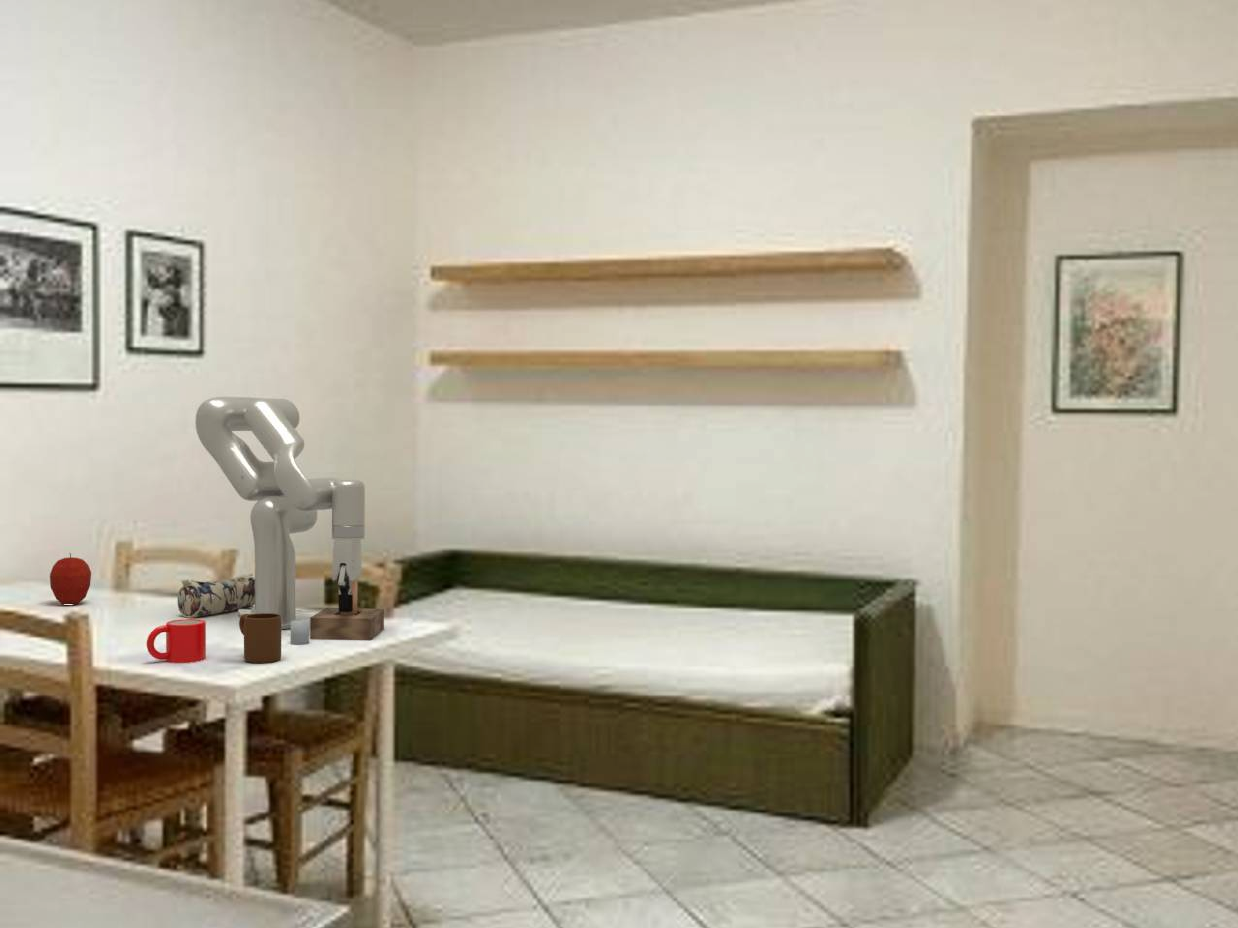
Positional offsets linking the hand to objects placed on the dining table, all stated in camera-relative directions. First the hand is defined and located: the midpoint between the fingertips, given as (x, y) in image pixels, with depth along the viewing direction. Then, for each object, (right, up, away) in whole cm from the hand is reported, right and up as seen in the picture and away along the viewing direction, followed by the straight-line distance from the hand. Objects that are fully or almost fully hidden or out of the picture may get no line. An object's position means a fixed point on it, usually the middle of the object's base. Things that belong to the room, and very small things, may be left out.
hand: (348, 609), depth 290 cm
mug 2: (-13, -7, -29) cm, 33 cm away
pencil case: (-40, -5, +29) cm, 49 cm away
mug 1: (-29, -7, -32) cm, 44 cm away
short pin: (-8, -6, -12) cm, 16 cm away
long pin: (0, -3, 0) cm, 3 cm away
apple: (-82, -3, +38) cm, 91 cm away
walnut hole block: (0, -6, 0) cm, 6 cm away
